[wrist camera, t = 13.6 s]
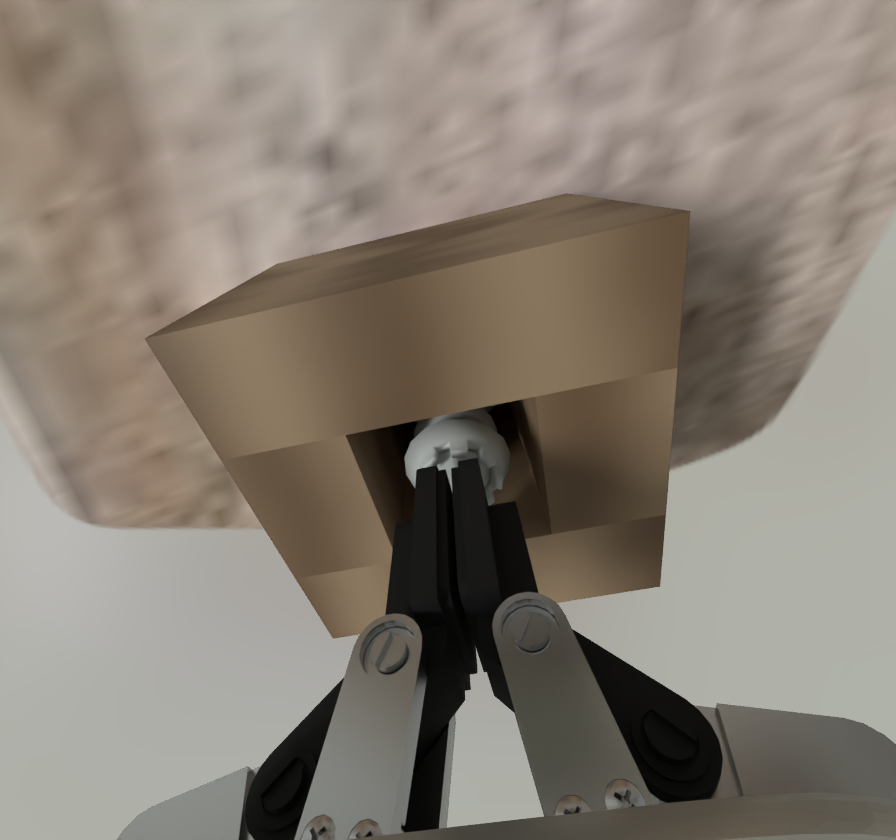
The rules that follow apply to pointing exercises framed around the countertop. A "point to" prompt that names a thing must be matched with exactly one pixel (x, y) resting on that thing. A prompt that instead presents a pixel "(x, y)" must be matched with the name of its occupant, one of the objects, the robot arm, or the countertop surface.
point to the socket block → (452, 390)
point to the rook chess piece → (460, 447)
